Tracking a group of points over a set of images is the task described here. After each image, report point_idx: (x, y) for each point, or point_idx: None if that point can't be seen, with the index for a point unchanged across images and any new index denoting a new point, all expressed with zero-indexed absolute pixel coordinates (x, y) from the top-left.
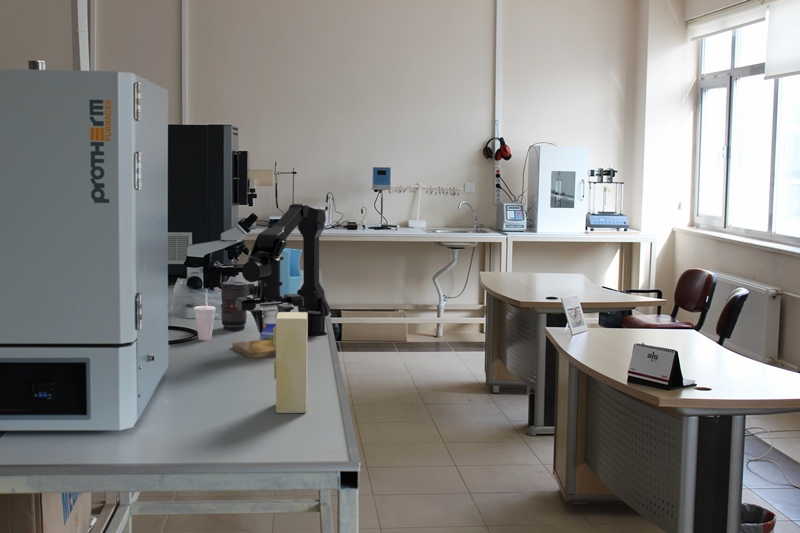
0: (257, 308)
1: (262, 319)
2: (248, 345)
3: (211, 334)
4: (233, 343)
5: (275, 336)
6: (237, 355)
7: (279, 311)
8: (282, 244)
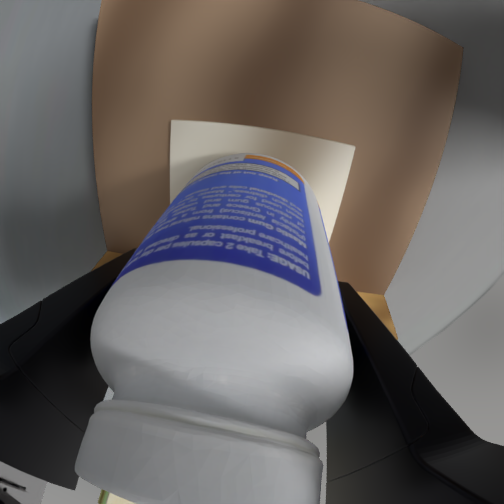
0: (24, 478)
1: (106, 381)
2: (146, 104)
3: None
4: (100, 15)
5: (102, 496)
6: (85, 172)
7: (387, 480)
8: None
